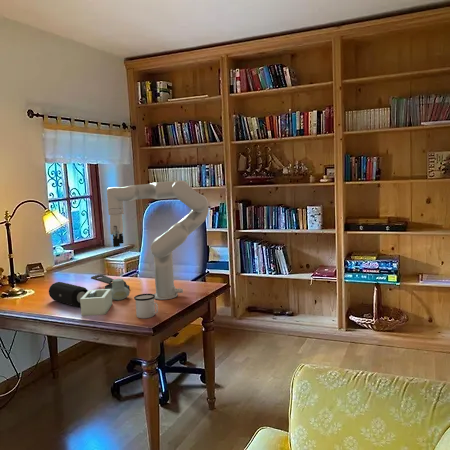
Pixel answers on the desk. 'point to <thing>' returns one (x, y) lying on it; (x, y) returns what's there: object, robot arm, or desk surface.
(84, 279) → the desk surface
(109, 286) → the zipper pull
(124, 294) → the air freshener
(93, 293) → the steel bracket
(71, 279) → the desk surface
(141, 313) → the mug
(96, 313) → the well box
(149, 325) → the desk surface
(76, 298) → the portable speaker
